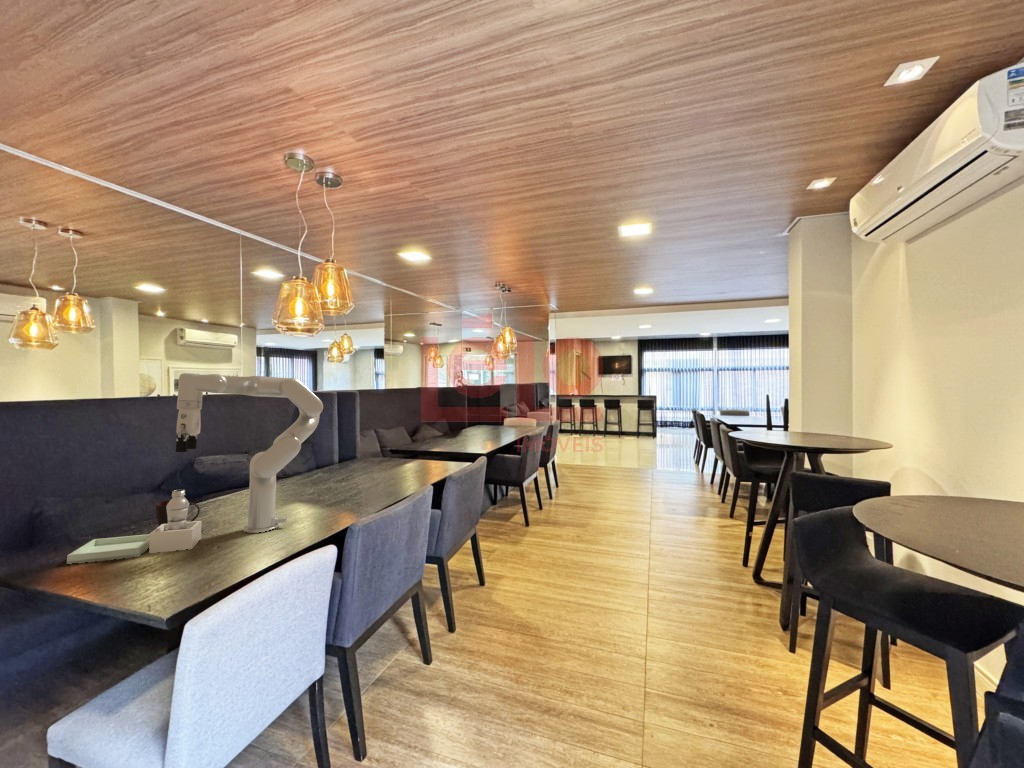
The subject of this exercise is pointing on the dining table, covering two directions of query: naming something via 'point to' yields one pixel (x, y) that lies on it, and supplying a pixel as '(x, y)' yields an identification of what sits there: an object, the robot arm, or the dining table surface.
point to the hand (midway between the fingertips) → (186, 450)
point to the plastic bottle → (177, 511)
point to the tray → (110, 549)
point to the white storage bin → (175, 538)
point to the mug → (162, 512)
